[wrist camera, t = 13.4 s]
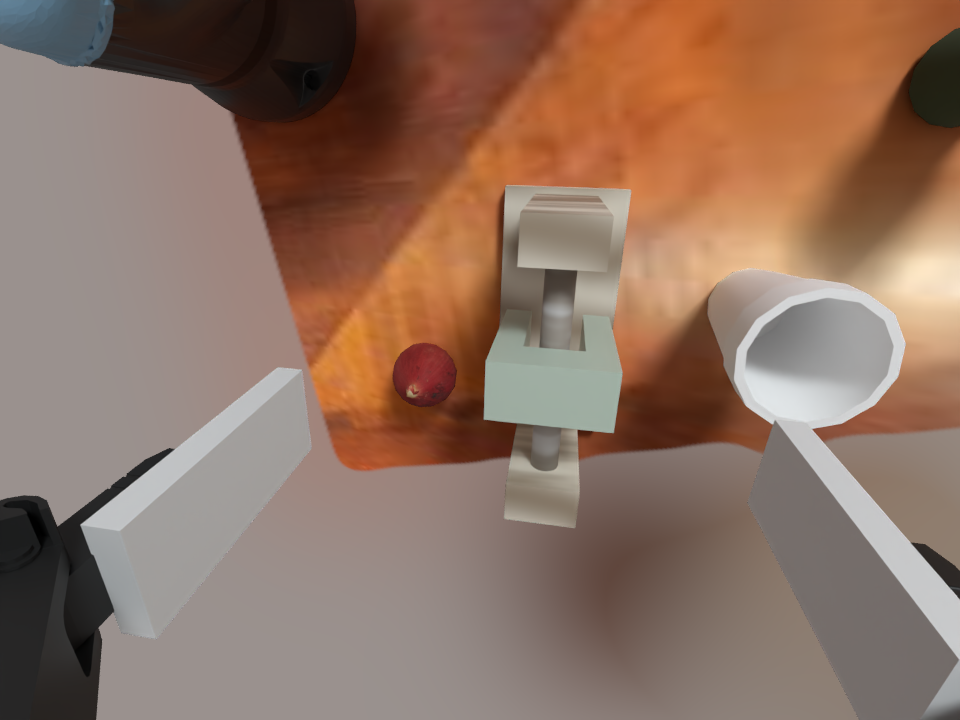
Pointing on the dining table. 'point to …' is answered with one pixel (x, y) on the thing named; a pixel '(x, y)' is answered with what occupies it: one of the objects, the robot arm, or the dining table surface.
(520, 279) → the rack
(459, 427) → the dining table surface
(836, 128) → the dining table surface
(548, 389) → the grey u-shaped block
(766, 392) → the foam cup
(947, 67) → the character mug
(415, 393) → the onion
